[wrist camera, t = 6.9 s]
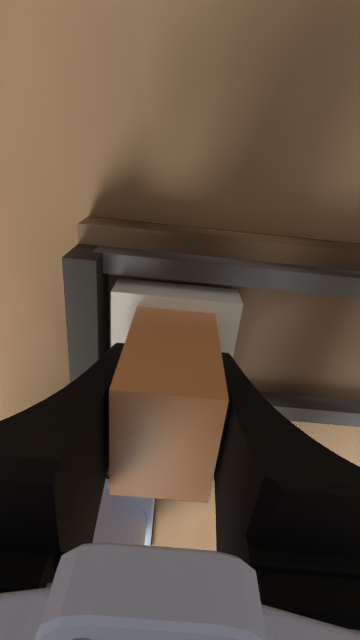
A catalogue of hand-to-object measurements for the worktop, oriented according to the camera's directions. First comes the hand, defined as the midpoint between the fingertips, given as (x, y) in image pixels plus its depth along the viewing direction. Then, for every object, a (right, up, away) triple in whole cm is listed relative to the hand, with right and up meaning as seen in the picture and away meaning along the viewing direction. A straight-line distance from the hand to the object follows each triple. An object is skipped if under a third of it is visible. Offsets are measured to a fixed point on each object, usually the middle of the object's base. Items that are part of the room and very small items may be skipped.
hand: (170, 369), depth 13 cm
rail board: (+6, +1, +4) cm, 7 cm away
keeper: (0, +1, +2) cm, 3 cm away
